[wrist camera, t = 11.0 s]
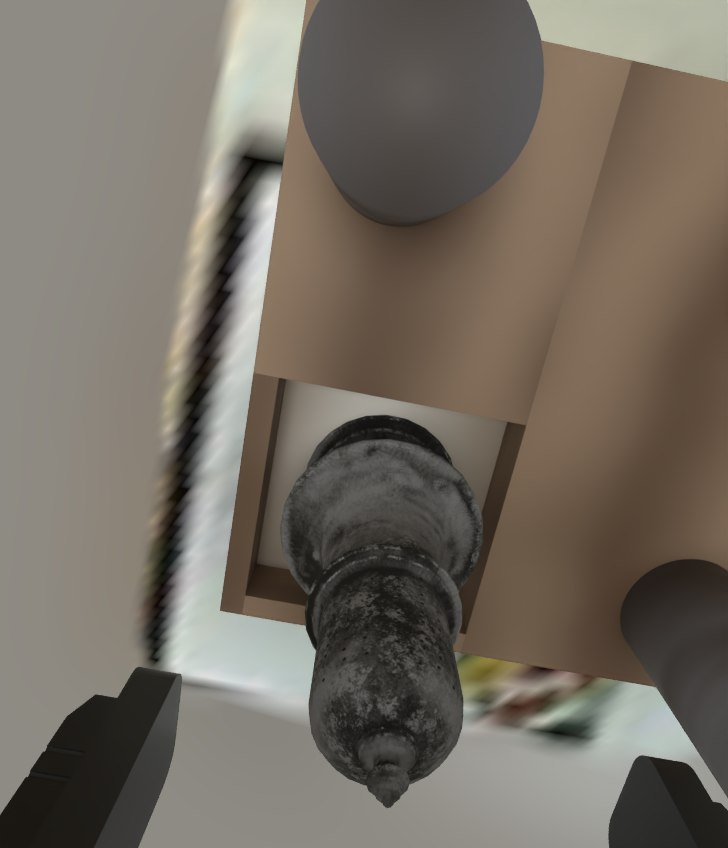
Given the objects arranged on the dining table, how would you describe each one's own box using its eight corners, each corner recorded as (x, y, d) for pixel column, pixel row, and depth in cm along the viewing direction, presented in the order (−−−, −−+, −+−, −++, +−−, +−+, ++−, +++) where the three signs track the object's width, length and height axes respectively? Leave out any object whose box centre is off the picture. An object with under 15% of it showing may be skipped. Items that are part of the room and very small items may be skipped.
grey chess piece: (491, 439, 20) (659, 711, 8) (427, 583, 21) (492, 978, 10) (326, 381, 19) (255, 583, 8) (274, 533, 21) (151, 887, 9)
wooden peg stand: (895, 158, 18) (1385, 74, 9) (688, 644, 23) (878, 881, 14) (318, 32, 17) (263, -188, 8) (239, 563, 22) (155, 763, 14)
